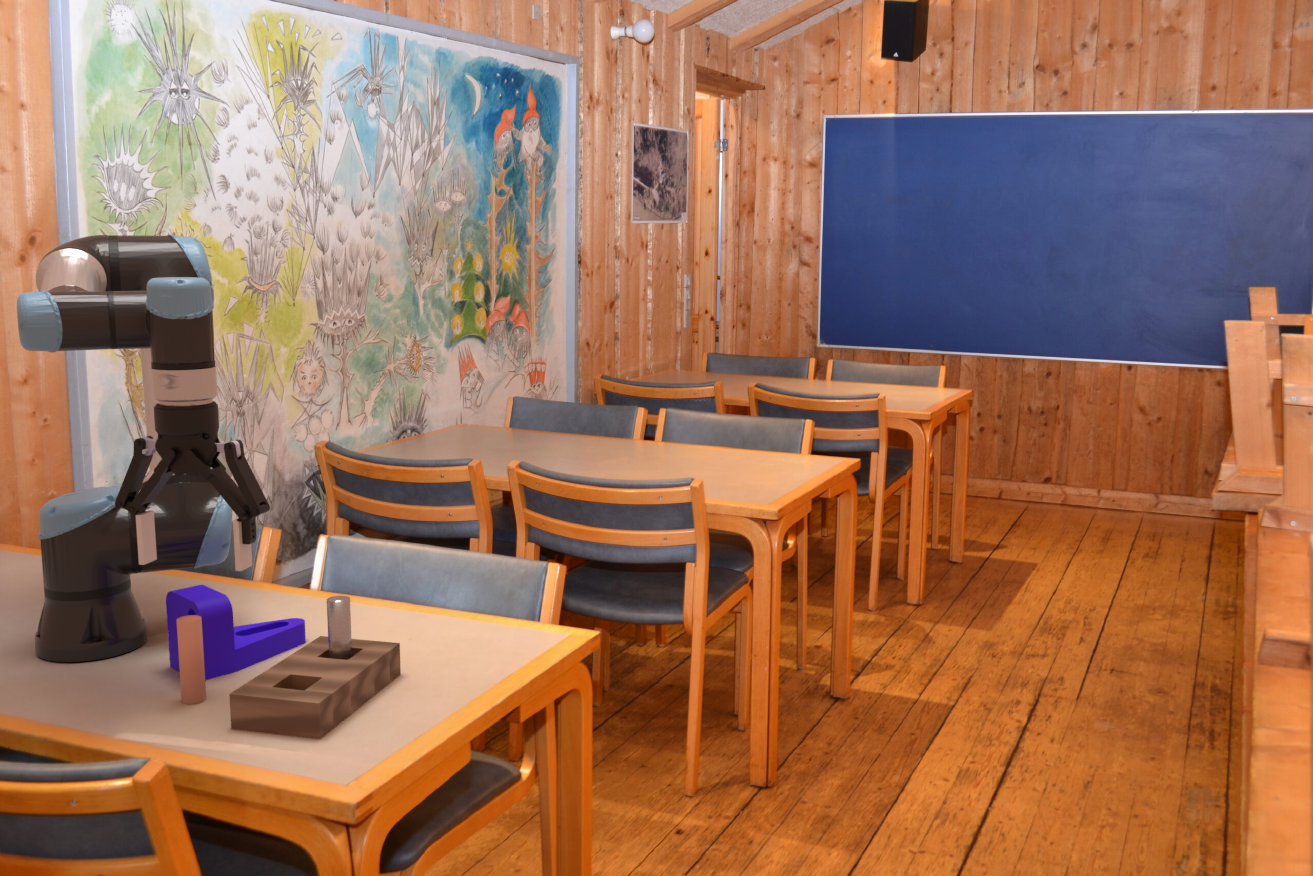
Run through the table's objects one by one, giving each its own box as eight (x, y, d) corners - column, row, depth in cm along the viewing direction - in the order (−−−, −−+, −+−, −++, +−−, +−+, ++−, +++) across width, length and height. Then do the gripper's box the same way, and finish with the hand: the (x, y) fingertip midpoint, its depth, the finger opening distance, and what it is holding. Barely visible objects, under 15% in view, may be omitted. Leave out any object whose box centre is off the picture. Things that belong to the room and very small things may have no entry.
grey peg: (326, 687, 156) (322, 601, 154) (337, 679, 159) (333, 594, 157) (346, 689, 155) (343, 603, 153) (357, 681, 158) (354, 596, 156)
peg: (177, 710, 151) (171, 621, 149) (191, 701, 154) (185, 614, 152) (197, 712, 150) (192, 623, 148) (211, 704, 153) (206, 616, 151)
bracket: (204, 688, 159) (199, 605, 157) (170, 668, 166) (165, 588, 164) (323, 655, 171) (320, 578, 169) (286, 638, 179) (282, 564, 177)
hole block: (320, 746, 140) (318, 703, 139) (231, 736, 143) (229, 694, 142) (400, 681, 161) (399, 643, 160) (322, 673, 164) (320, 636, 163)
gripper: (77, 401, 145) (89, 567, 148) (261, 408, 140) (269, 579, 144) (116, 394, 152) (127, 552, 155) (292, 400, 147) (299, 563, 151)
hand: (195, 565), depth 149 cm, fingers open, 13 cm apart
